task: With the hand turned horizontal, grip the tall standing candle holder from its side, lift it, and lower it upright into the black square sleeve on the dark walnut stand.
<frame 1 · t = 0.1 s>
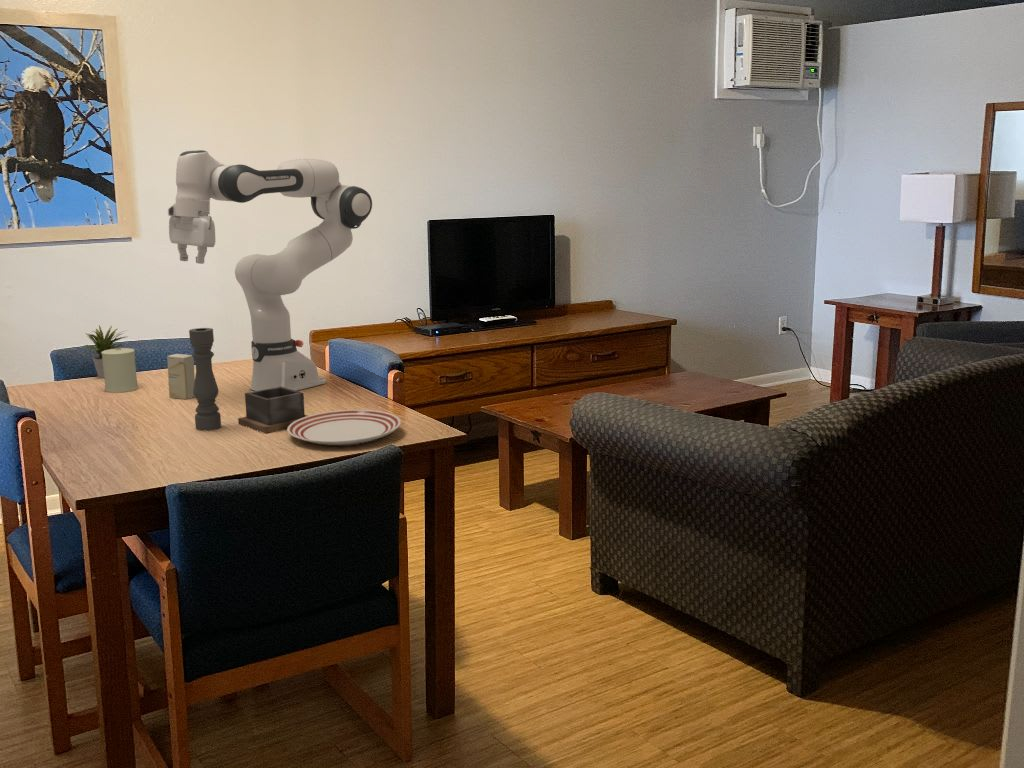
hand: (191, 262, 275), 39 cm above the table, tool pointing down, fingers open, 8 cm apart
candle stand: (275, 423, 258), on the table
house plant: (107, 377, 315), on the table
can: (121, 389, 298), on the table
dinner plate: (345, 436, 247), on the table
skincare box: (183, 397, 288), on the table
candle holder: (208, 428, 255), on the table
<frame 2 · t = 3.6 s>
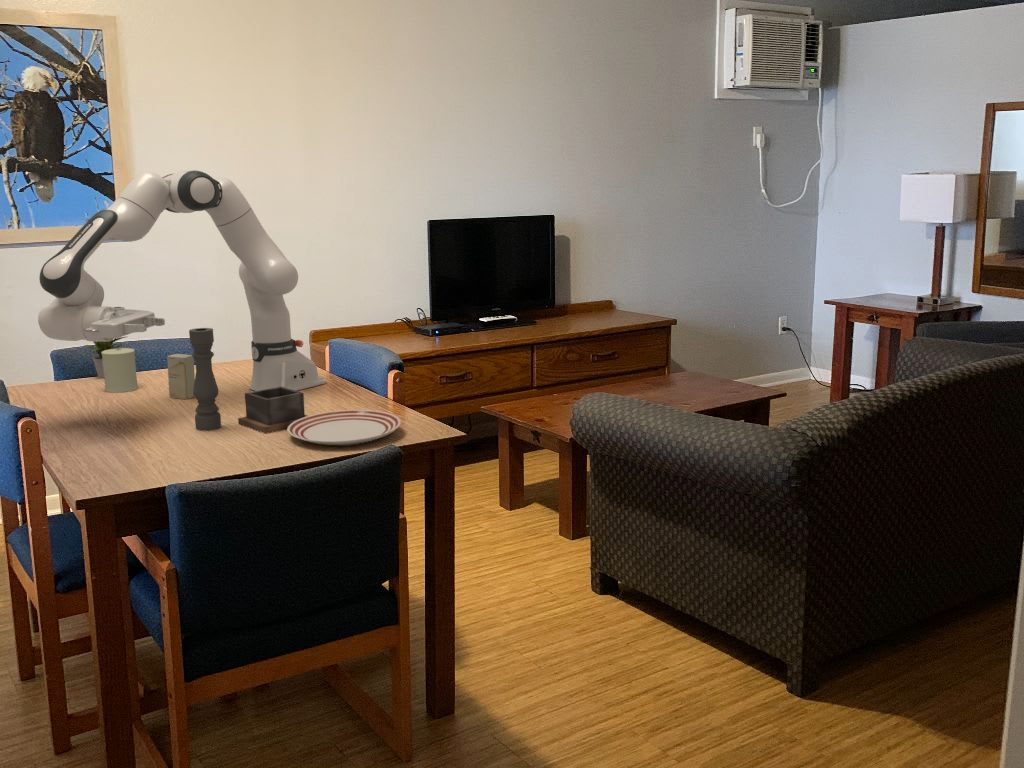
hand: (154, 325, 251), 26 cm above the table, tool horizontal, fingers open, 8 cm apart
nothing on the table moved.
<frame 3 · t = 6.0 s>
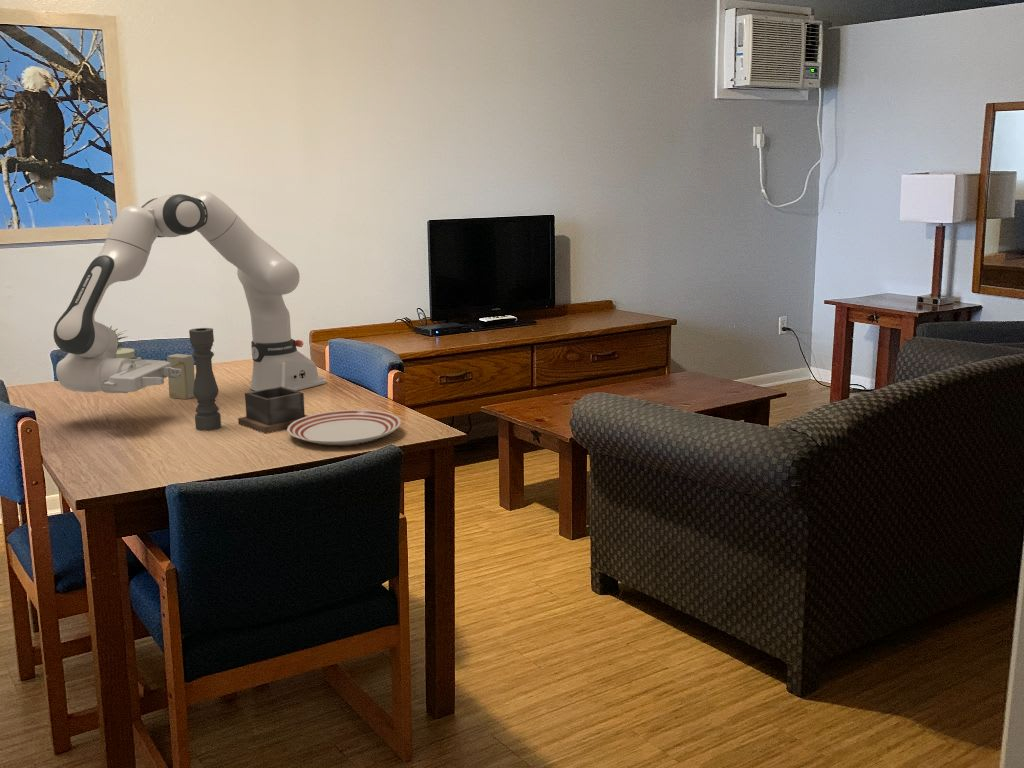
hand: (171, 376, 253), 13 cm above the table, tool horizontal, fingers open, 8 cm apart
nothing on the table moved.
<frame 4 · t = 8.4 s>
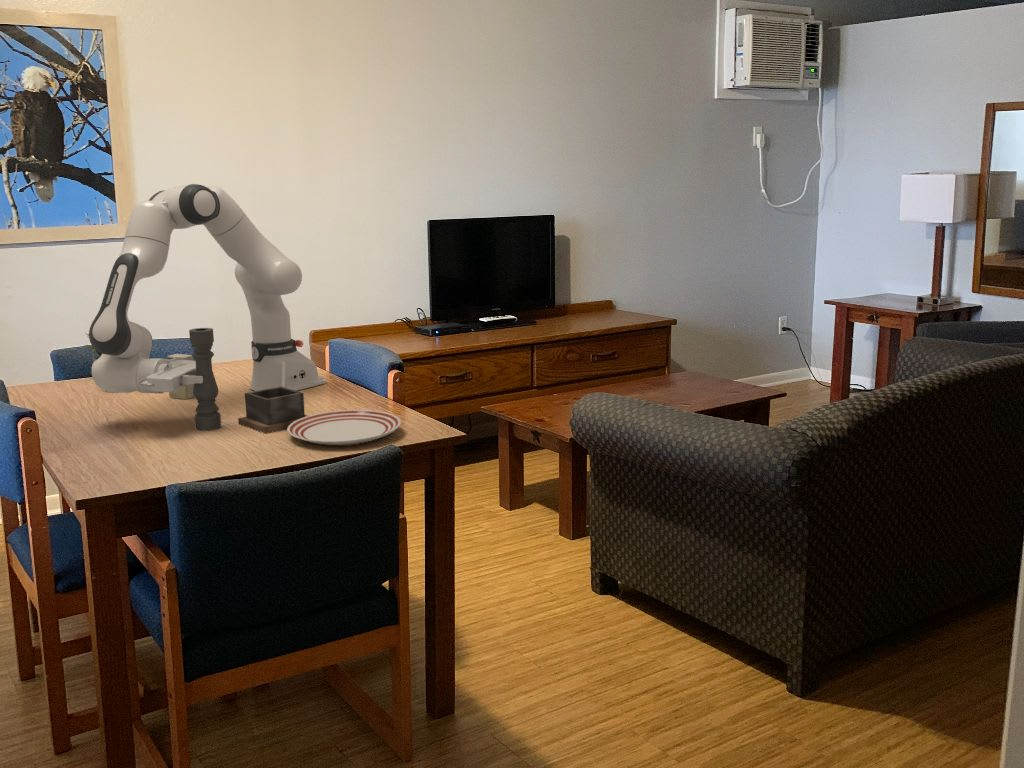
hand: (208, 377, 252), 13 cm above the table, tool horizontal, fingers closed on candle holder, 4 cm apart
candle holder: (208, 428, 255), on the table, touching gripper
everything else where it was.
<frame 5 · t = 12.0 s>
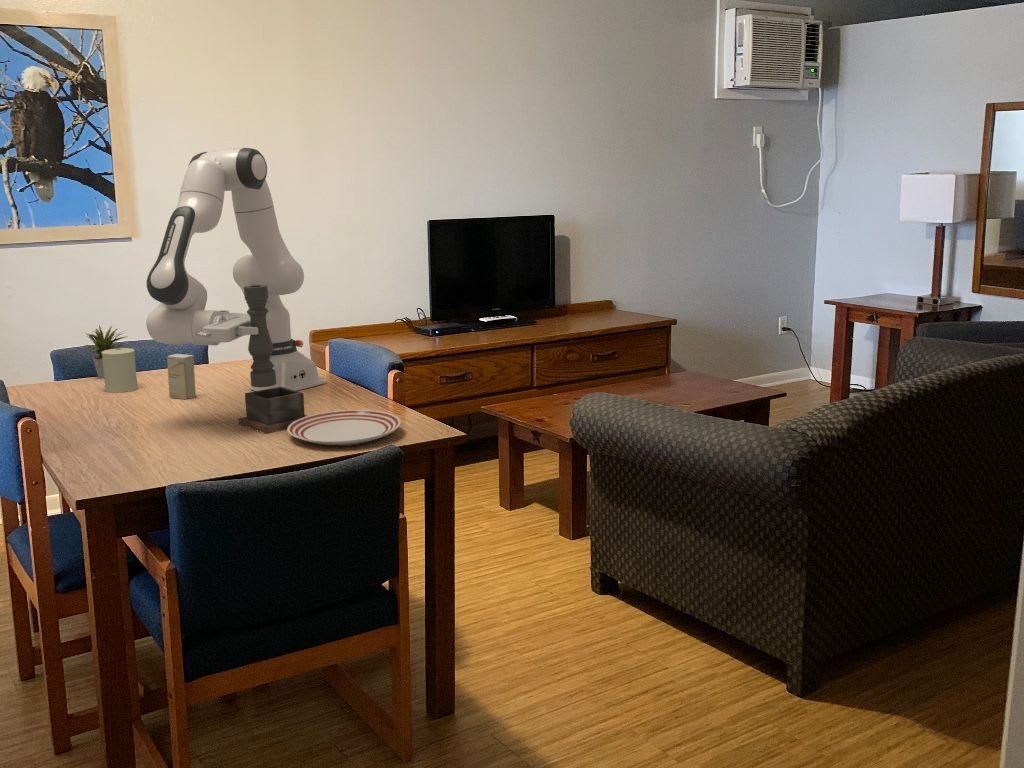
hand: (262, 328, 252), 25 cm above the table, tool horizontal, fingers closed on candle holder, 4 cm apart
candle holder: (263, 385, 255), point 10 cm above the table, touching gripper
everything else where it was.
when the fingers open (16 cm above the table, at t = 14.9 s): candle holder moves 2 cm, resting on candle stand.
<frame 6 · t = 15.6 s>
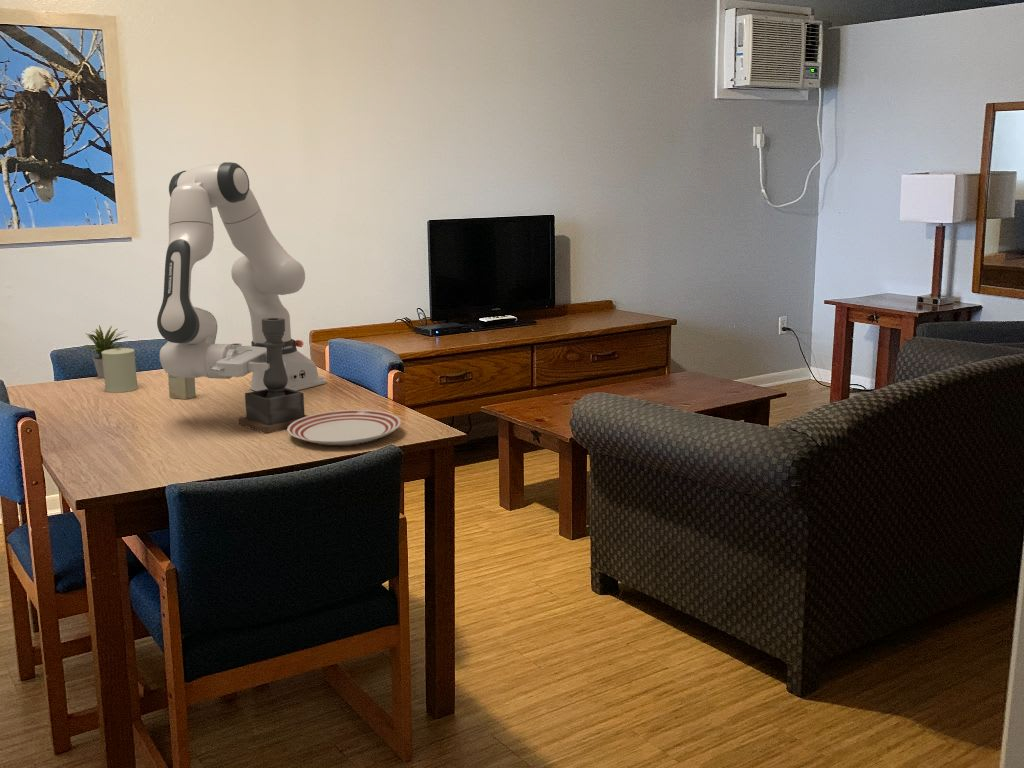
hand: (275, 362, 254), 16 cm above the table, tool horizontal, fingers open, 8 cm apart
candle holder: (277, 416, 259), point 1 cm above the table, touching candle stand, gripper
everything else where it was.
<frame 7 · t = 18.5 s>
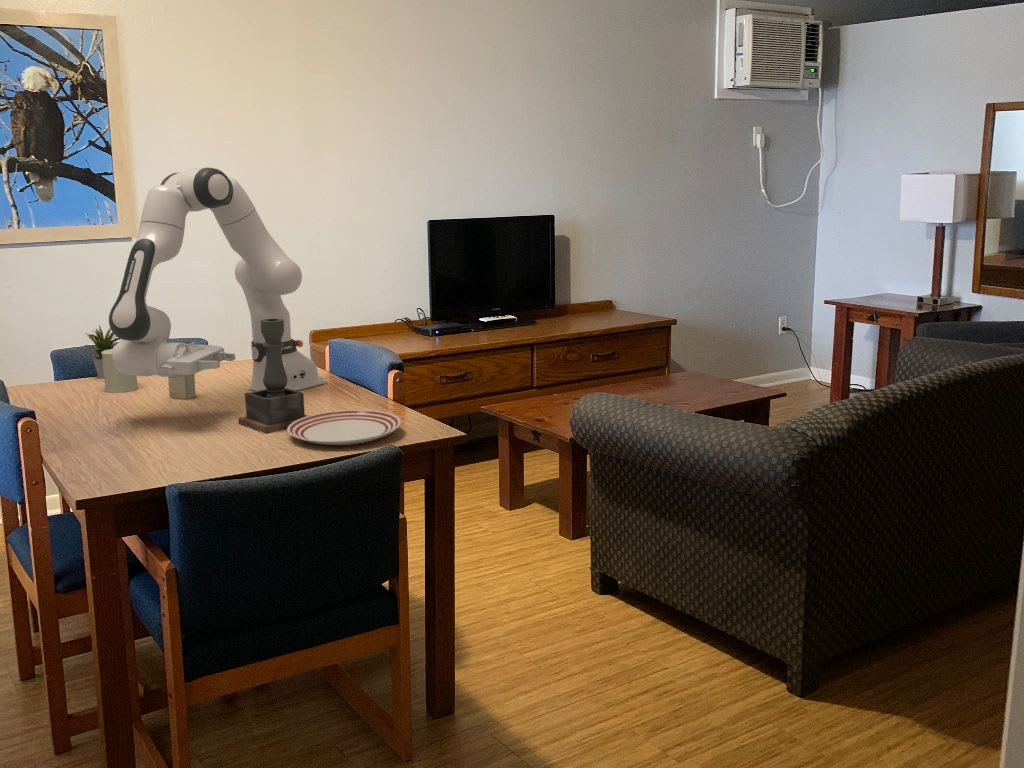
hand: (226, 360, 256), 16 cm above the table, tool horizontal, fingers open, 8 cm apart
candle holder: (277, 416, 259), point 1 cm above the table, touching candle stand
everything else where it was.
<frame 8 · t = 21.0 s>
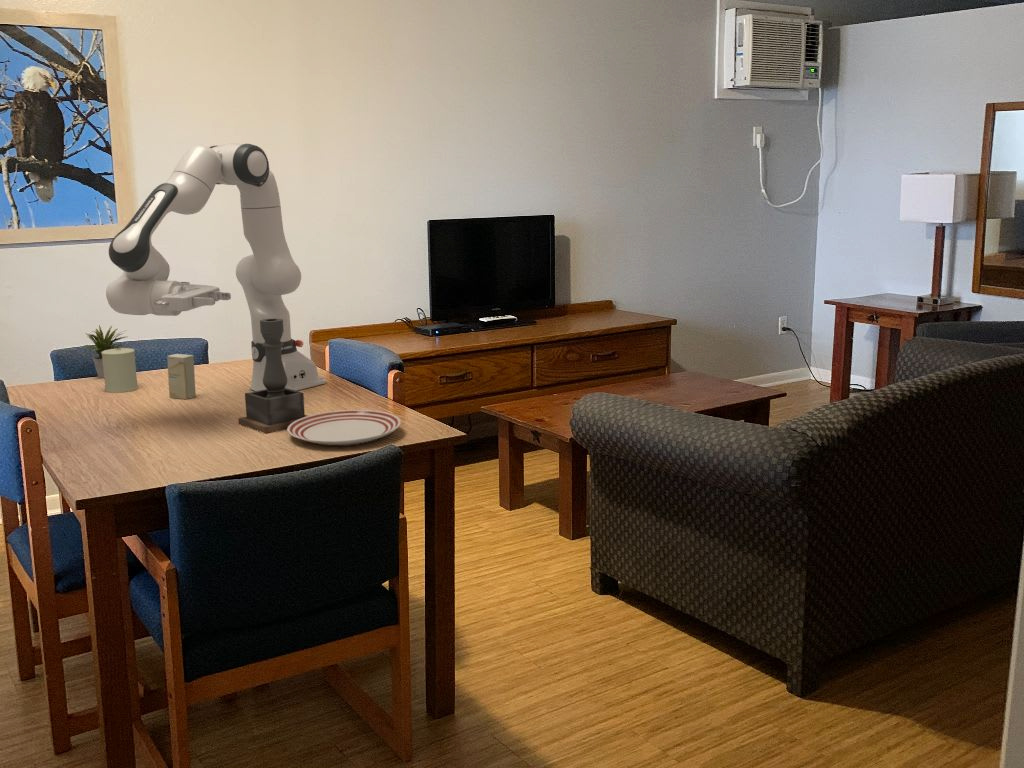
hand: (222, 298, 253), 32 cm above the table, tool horizontal, fingers open, 8 cm apart
nothing on the table moved.
at the end: candle holder 1.6 cm off-centre on the candle stand, point 1.3 cm above the candle stand's base; candle holder tilted 0°; the gripper is holding nothing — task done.
